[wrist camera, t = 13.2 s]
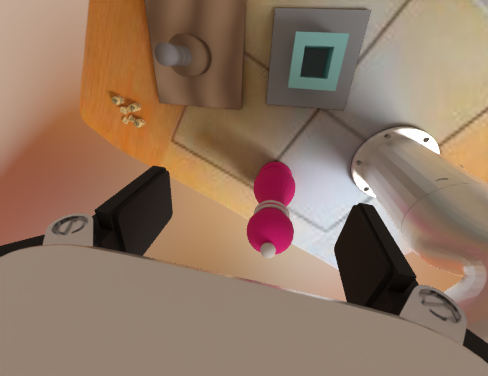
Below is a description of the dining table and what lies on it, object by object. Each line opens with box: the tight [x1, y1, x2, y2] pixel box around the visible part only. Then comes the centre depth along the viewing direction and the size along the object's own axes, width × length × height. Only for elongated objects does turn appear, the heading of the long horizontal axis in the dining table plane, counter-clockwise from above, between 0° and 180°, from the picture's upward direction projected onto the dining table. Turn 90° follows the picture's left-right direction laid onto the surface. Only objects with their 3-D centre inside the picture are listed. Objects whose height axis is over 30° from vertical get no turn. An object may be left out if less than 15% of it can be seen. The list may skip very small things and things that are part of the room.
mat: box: [266, 8, 371, 110], centre depth 31 cm, size 12×12×1 cm
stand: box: [144, 0, 246, 110], centre depth 28 cm, size 14×14×11 cm
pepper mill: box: [247, 162, 295, 258], centre depth 32 cm, size 7×7×20 cm
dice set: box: [112, 95, 145, 128], centre depth 39 cm, size 5×5×2 cm
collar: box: [288, 32, 349, 91], centre depth 28 cm, size 6×6×5 cm
